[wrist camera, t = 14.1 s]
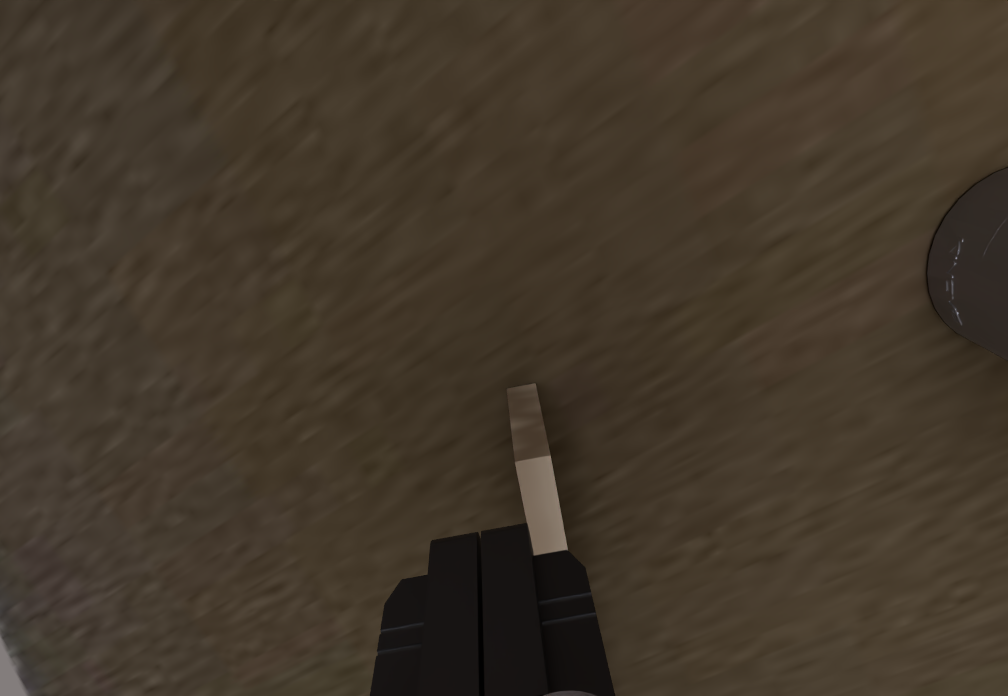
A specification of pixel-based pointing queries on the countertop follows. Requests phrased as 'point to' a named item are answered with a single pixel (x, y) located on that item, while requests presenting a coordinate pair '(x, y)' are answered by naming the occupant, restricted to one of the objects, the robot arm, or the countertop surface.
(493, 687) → the robot arm
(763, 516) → the countertop surface
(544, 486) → the wooden frame
